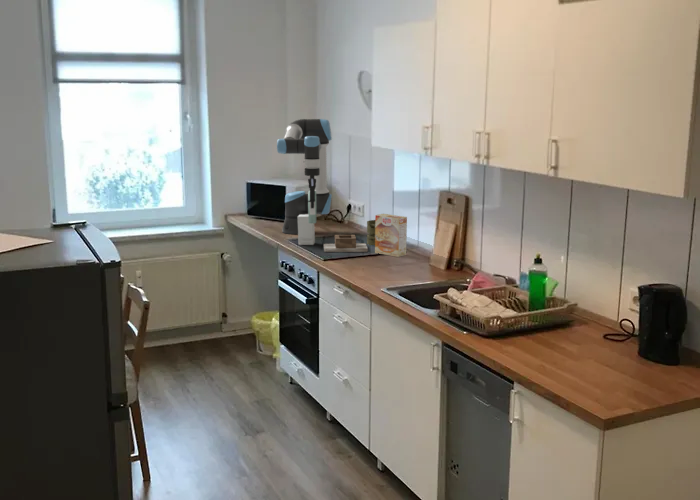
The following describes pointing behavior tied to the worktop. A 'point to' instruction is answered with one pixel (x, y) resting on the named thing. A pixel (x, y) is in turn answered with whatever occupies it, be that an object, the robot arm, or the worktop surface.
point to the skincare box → (305, 231)
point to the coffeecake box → (390, 234)
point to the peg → (310, 217)
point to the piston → (371, 232)
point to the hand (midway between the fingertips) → (312, 213)
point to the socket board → (358, 248)
